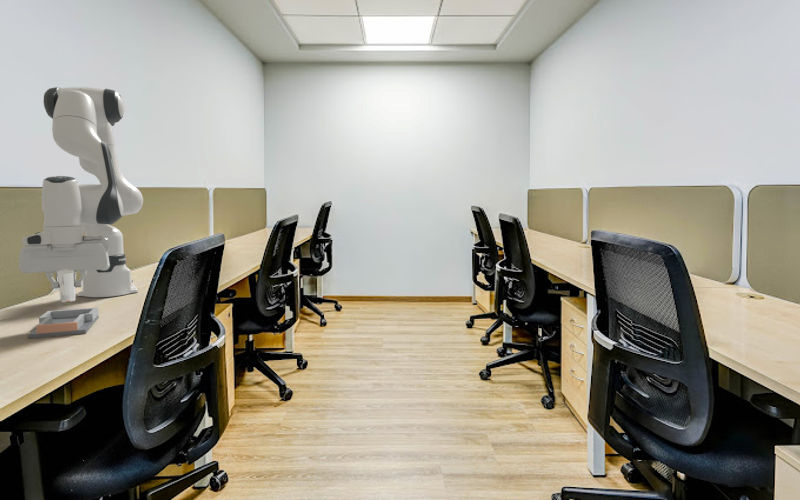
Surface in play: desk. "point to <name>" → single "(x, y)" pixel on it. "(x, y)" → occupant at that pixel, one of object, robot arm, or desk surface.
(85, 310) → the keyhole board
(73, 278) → the milkshake
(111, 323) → the desk surface
